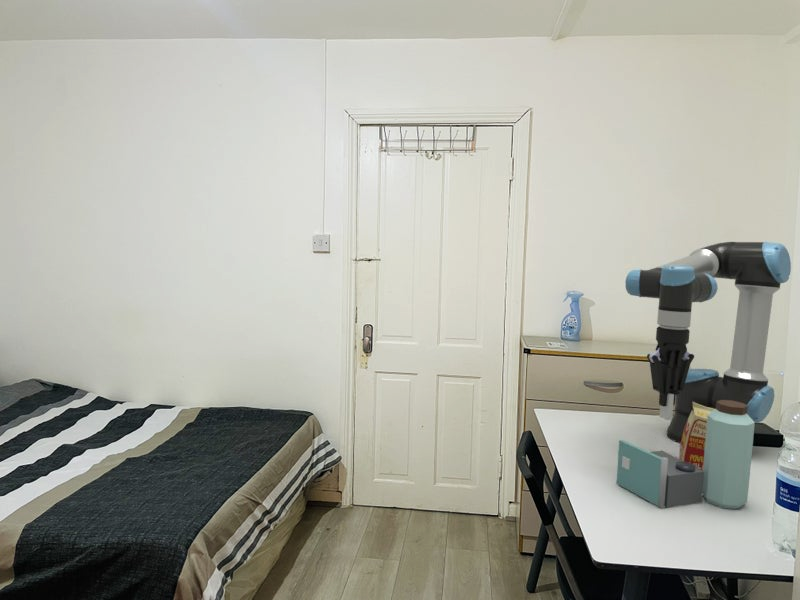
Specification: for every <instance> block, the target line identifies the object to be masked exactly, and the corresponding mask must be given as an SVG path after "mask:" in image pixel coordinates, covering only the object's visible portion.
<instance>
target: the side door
mask: <svg viewBox="0 0 800 600" xmlns="http://www.w3.org/2000/svg"><path fill="white" fill-rule="evenodd" d="M651 452H652V451H648V450H646V449H645V448H642V447H639V446H637V445H635V444H633V443H630V442H628V441H626V440H624V439H622V440H621V439H619V440H618V454H617V455H618V457H617V466H616V467H617V471H616V484H617V485H619V486H620V487H621V488H624V489H626V490H628V491H629V492H632V493H634V494H636V495H637V496H639V497H641V498H642V499H644V500H646V501H648V502H649V503H651V504H653V505H655V506H657V507H659V508H662V509H663V508H665V506H664V504H665V491H666V478H667V466H668V458H666V457H660V456H657V455H655V454H653V453H651Z"/></svg>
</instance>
